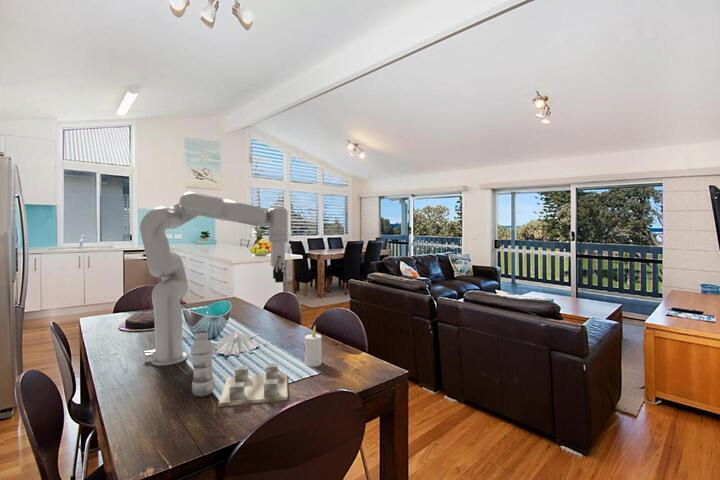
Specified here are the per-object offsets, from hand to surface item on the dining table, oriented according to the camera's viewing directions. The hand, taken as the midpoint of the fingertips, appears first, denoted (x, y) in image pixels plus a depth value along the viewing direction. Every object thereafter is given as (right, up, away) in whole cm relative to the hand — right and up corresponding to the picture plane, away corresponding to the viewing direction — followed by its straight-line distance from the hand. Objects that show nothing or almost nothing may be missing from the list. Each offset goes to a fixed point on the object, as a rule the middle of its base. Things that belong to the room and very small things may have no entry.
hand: (278, 280), depth 148 cm
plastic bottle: (-16, -33, -33) cm, 49 cm away
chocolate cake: (-78, -29, +44) cm, 94 cm away
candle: (+15, -31, -8) cm, 36 cm away
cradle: (-1, -32, -30) cm, 44 cm away
